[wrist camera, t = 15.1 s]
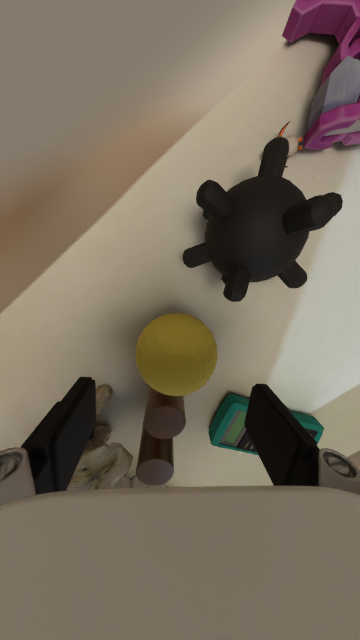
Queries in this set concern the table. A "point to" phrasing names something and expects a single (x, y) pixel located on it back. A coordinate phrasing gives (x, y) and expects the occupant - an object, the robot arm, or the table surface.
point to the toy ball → (259, 225)
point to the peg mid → (164, 415)
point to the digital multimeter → (232, 430)
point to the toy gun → (332, 70)
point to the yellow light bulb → (176, 354)
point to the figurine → (100, 455)
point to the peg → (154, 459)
